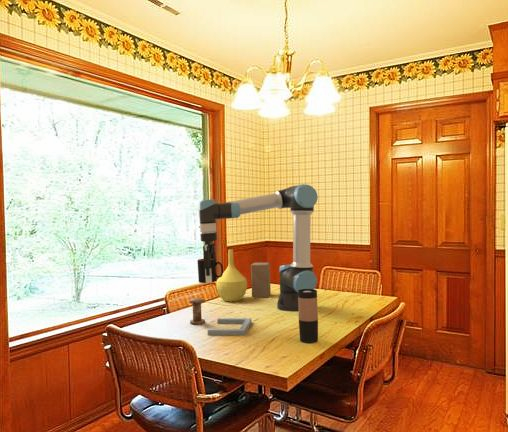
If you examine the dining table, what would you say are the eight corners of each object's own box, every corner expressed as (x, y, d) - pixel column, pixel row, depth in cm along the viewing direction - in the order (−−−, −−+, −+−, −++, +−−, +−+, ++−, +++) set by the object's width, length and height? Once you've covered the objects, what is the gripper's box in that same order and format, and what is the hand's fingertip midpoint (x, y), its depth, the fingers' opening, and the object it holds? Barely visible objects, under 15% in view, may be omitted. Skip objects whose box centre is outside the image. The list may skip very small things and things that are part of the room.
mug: (221, 282, 191) (219, 260, 190) (196, 283, 193) (194, 260, 193) (226, 279, 199) (224, 257, 199) (202, 279, 201) (200, 258, 201)
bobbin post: (206, 320, 202) (205, 298, 202) (202, 324, 195) (201, 301, 195) (192, 320, 203) (191, 298, 203) (188, 324, 196) (187, 301, 196)
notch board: (251, 322, 196) (251, 318, 196) (244, 335, 177) (244, 330, 177) (218, 322, 199) (218, 318, 199) (207, 334, 179) (207, 330, 179)
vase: (253, 298, 250) (252, 248, 250) (236, 304, 235) (234, 251, 235) (228, 295, 260) (227, 247, 260) (210, 301, 245) (208, 250, 244)
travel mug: (297, 338, 170) (296, 289, 170) (316, 337, 171) (314, 288, 171) (301, 344, 163) (299, 292, 162) (320, 343, 163) (319, 291, 163)
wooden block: (268, 297, 250) (267, 264, 250) (251, 297, 252) (250, 264, 252) (270, 294, 260) (269, 262, 260) (255, 294, 262) (254, 262, 262)
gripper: (206, 231, 207) (208, 277, 207) (194, 234, 186) (197, 285, 186) (221, 230, 206) (223, 276, 206) (210, 233, 185) (213, 284, 185)
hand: (211, 280), depth 196 cm, fingers closed on mug, 8 cm apart
